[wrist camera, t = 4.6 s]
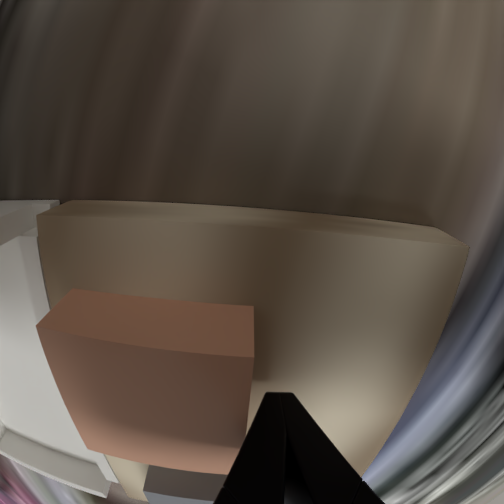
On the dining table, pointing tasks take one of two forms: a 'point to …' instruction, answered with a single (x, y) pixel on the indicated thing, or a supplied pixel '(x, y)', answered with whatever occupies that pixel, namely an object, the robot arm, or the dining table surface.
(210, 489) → the slate tile
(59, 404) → the tray
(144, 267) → the birch board
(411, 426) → the dining table surface
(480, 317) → the dining table surface
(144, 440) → the terracotta tile
